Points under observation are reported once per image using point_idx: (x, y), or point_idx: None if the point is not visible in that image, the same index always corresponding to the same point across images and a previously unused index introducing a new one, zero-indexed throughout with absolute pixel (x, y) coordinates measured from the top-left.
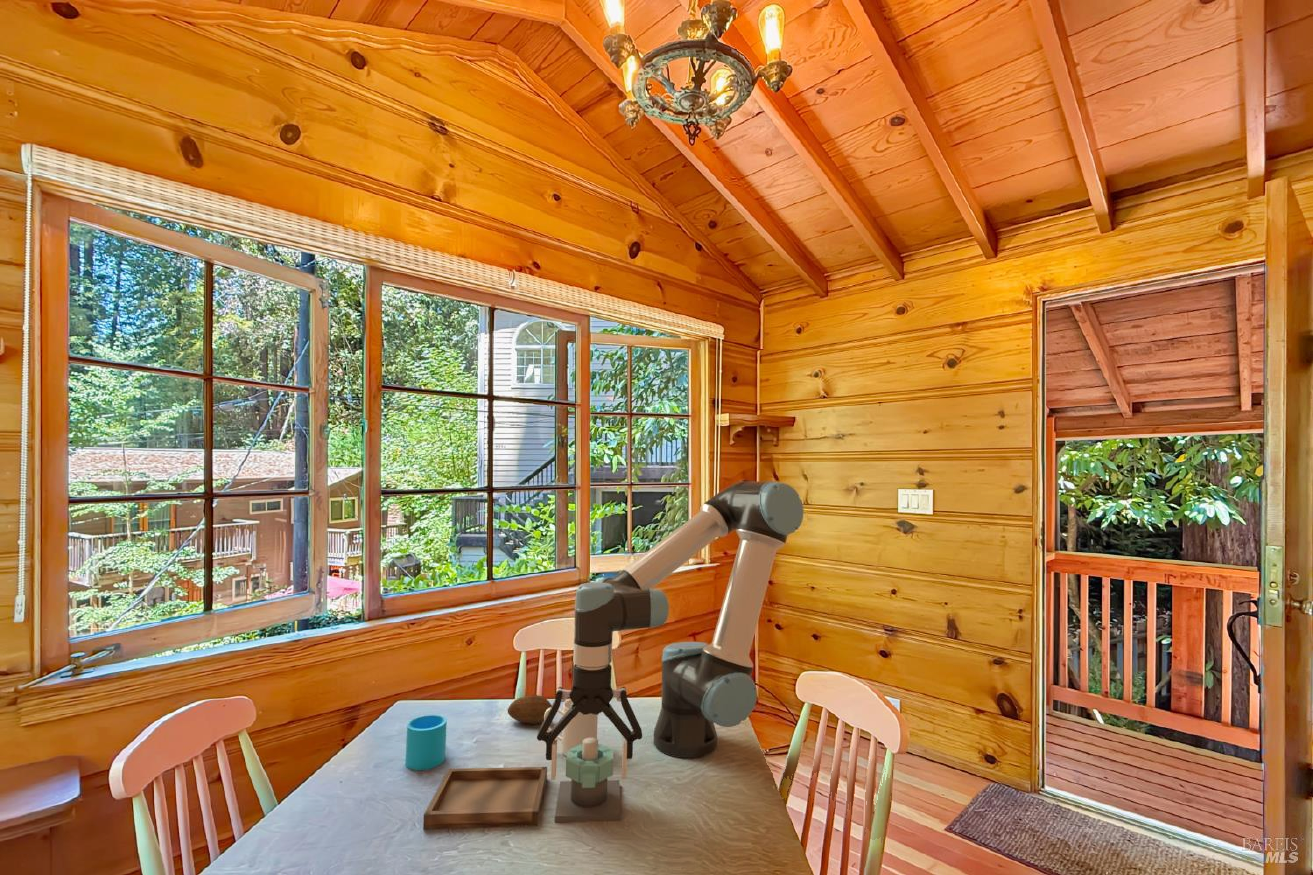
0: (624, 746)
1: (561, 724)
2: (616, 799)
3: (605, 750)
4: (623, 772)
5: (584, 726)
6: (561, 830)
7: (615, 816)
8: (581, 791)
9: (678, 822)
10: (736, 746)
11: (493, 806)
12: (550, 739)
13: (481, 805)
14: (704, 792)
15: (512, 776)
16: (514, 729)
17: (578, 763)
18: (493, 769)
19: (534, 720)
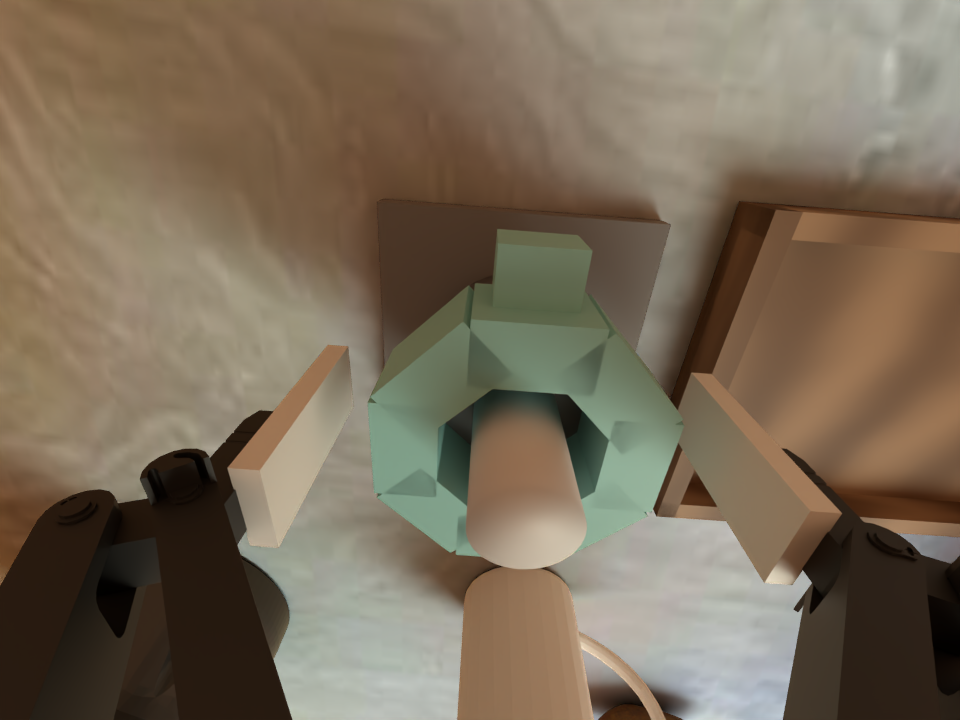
0: (258, 454)
1: (910, 703)
2: (397, 316)
3: (421, 490)
4: (331, 361)
5: (512, 680)
6: (643, 151)
7: (401, 202)
8: None
9: (123, 146)
10: None
11: (895, 333)
12: (888, 553)
13: (939, 345)
14: (62, 347)
15: None
16: (689, 690)
17: (612, 366)
18: None
19: (640, 716)
